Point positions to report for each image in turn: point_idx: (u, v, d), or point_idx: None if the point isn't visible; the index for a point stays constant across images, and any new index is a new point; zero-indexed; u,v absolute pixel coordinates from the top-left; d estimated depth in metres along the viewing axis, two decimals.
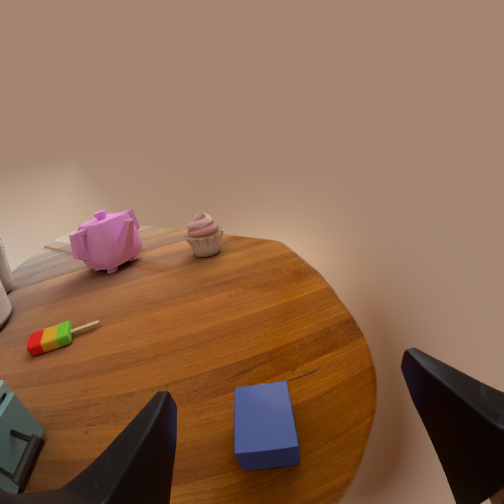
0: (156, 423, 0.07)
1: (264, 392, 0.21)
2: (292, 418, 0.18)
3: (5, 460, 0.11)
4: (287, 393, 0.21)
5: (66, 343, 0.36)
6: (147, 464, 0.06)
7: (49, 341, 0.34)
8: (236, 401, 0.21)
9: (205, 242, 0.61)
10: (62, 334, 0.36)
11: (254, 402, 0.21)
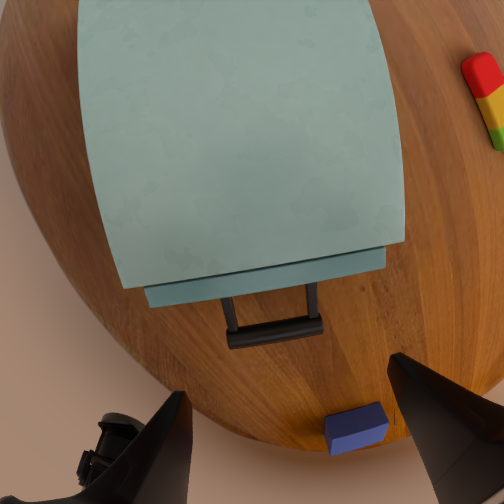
0: (174, 423, 0.07)
1: (377, 435, 0.25)
2: None
3: None
4: (371, 443, 0.26)
5: (494, 144, 0.17)
6: (166, 466, 0.06)
7: (494, 117, 0.15)
8: (376, 427, 0.24)
9: None
10: None
11: (371, 435, 0.25)
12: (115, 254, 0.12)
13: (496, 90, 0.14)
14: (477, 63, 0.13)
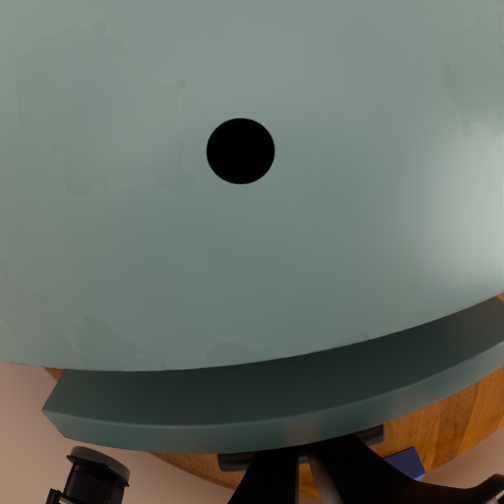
0: None
1: None
2: None
3: None
4: None
5: None
6: (297, 459, 0.06)
7: None
8: None
9: None
10: None
11: None
12: None
13: None
14: None
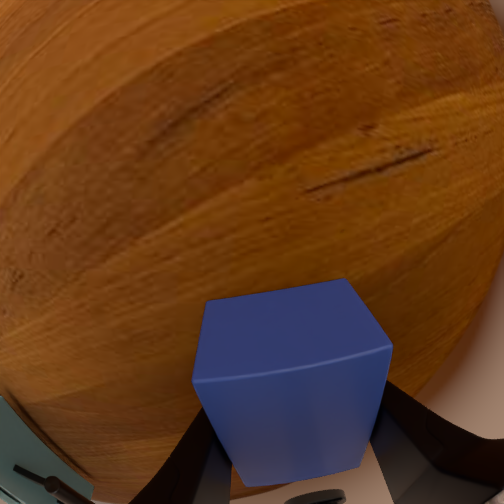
0: None
1: (310, 396, 0.06)
2: (368, 439, 0.07)
3: None
4: (380, 390, 0.06)
5: None
6: (215, 467, 0.06)
7: None
8: (216, 423, 0.06)
9: None
10: None
11: (278, 424, 0.06)
12: None
13: None
14: None
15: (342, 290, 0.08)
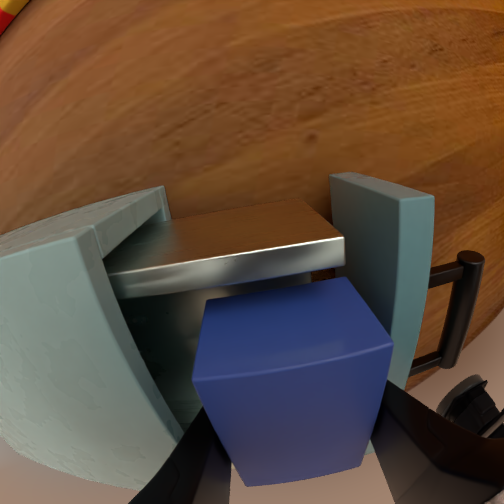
0: None
1: (310, 395, 0.06)
2: (368, 438, 0.07)
3: None
4: (381, 388, 0.06)
5: None
6: (215, 467, 0.06)
7: None
8: (216, 422, 0.06)
9: None
10: None
11: (278, 423, 0.06)
12: None
13: None
14: None
15: (342, 288, 0.08)
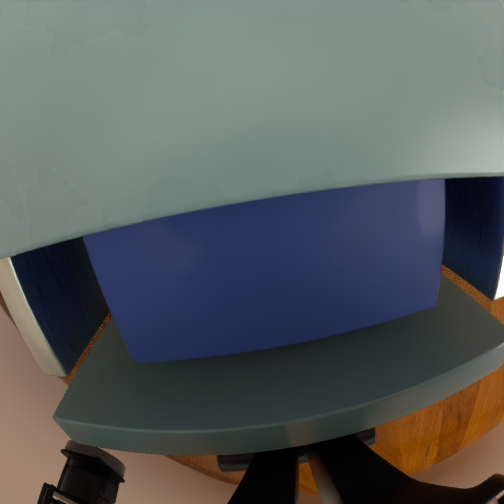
0: None
1: (406, 230, 0.05)
2: (252, 349, 0.05)
3: None
4: (380, 319, 0.05)
5: None
6: (297, 459, 0.06)
7: None
8: None
9: None
10: None
11: (358, 191, 0.04)
12: None
13: None
14: None
15: None
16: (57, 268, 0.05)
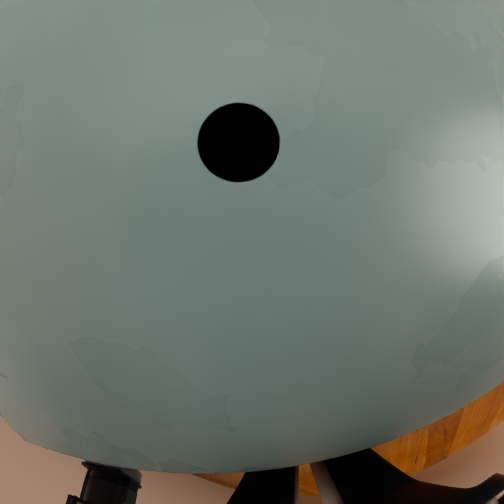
0: None
1: None
2: None
3: None
4: None
5: None
6: None
7: None
8: None
9: None
10: None
11: None
12: None
13: None
14: None
15: None
16: None
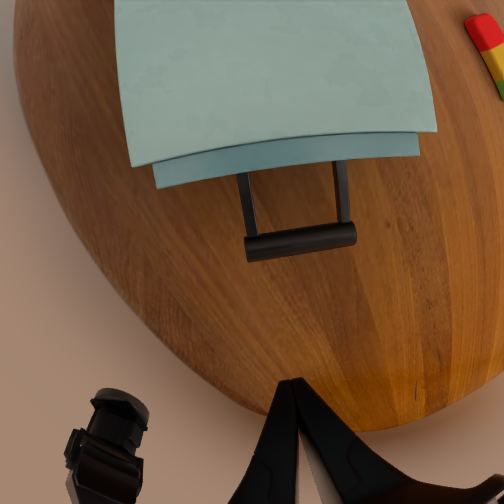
0: (296, 413, 0.07)
1: None
2: None
3: None
4: None
5: (502, 95, 0.15)
6: (297, 459, 0.06)
7: (499, 68, 0.13)
8: None
9: None
10: None
11: None
12: (128, 125, 0.10)
13: (499, 45, 0.12)
14: (479, 20, 0.11)
15: None
16: None
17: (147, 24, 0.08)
